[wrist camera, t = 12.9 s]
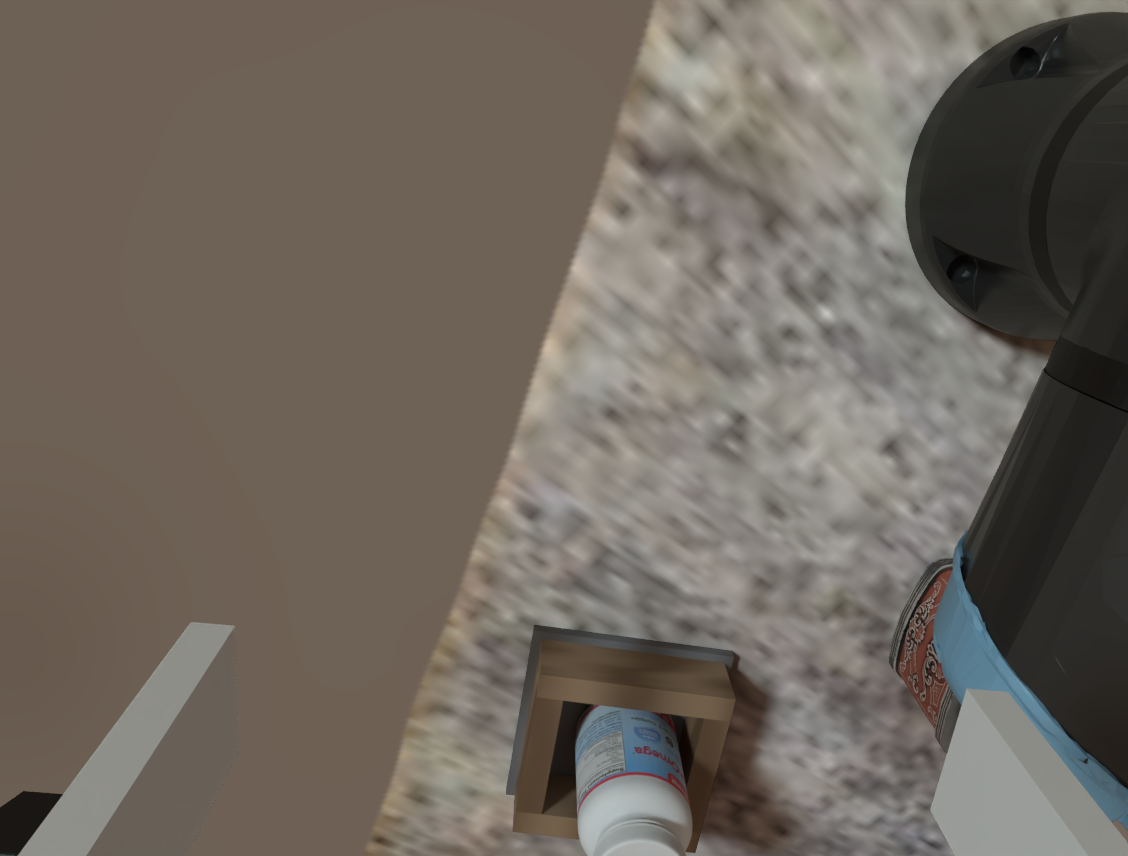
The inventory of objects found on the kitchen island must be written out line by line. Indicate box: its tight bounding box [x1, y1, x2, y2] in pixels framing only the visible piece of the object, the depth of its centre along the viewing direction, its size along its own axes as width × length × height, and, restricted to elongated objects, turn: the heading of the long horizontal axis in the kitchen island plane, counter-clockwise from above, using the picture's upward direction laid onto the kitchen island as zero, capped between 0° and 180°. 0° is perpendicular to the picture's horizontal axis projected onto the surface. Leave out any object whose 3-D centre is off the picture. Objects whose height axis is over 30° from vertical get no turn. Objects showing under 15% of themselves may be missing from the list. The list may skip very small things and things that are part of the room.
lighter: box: [889, 558, 962, 753], centre depth 47 cm, size 8×3×10 cm, turn 166°
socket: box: [506, 625, 736, 853], centre depth 52 cm, size 12×12×4 cm
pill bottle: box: [575, 704, 693, 856], centre depth 48 cm, size 6×6×11 cm
